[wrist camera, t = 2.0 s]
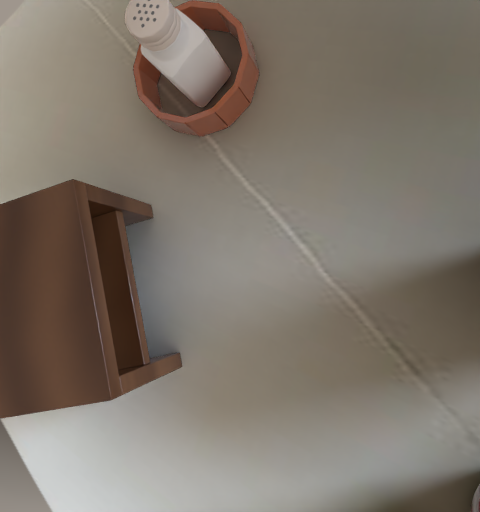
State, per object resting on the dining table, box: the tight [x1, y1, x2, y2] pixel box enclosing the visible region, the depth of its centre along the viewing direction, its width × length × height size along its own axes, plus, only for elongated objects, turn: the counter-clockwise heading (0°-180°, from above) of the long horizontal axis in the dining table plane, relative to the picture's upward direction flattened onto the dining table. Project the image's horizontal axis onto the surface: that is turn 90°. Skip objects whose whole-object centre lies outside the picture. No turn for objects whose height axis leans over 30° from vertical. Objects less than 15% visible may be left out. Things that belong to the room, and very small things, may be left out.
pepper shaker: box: [125, 0, 231, 107], centre depth 31 cm, size 4×4×10 cm
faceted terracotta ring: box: [133, 0, 259, 137], centre depth 34 cm, size 9×9×3 cm
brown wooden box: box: [0, 179, 182, 418], centre depth 33 cm, size 12×14×10 cm
